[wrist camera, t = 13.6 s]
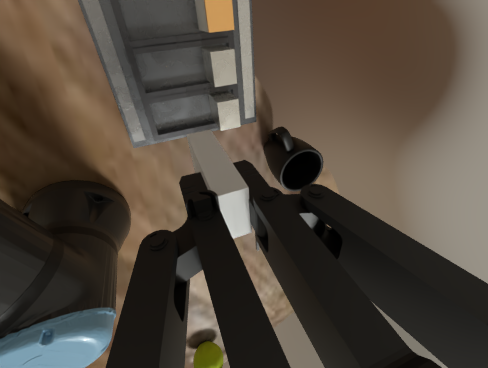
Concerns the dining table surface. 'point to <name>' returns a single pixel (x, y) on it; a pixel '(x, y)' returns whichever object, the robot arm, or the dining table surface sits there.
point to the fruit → (208, 356)
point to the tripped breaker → (214, 15)
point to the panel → (174, 67)
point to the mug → (292, 160)
